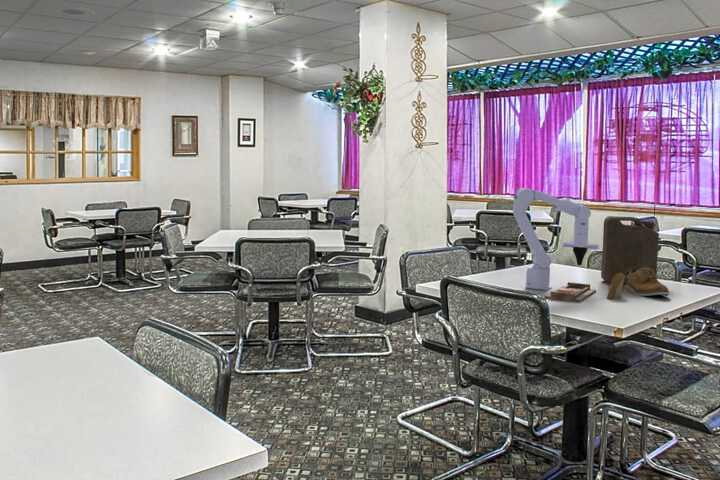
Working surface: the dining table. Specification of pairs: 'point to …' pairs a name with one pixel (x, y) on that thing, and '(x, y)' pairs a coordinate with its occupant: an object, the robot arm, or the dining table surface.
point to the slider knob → (565, 290)
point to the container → (628, 247)
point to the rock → (616, 286)
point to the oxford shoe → (645, 282)
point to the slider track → (578, 293)
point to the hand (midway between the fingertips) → (579, 264)
